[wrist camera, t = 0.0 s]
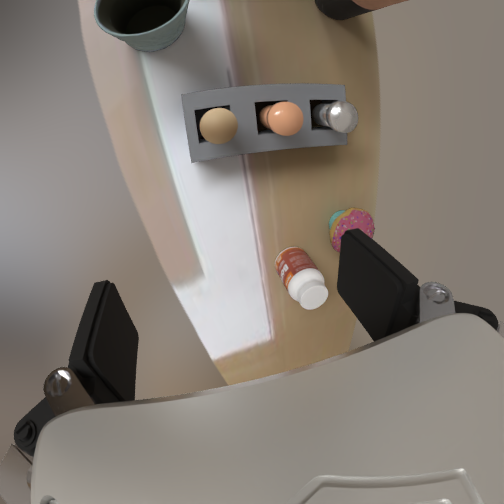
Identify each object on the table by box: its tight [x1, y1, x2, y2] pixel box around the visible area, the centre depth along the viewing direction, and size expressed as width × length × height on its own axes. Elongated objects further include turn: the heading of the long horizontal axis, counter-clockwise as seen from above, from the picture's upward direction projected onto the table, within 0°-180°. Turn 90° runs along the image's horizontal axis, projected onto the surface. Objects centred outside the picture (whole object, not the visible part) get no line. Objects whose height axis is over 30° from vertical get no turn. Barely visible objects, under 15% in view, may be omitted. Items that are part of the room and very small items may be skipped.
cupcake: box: [329, 208, 375, 252], centre depth 43 cm, size 9×8×12 cm
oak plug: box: [200, 108, 238, 144], centre depth 29 cm, size 4×4×6 cm
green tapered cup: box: [94, 0, 189, 52], centre depth 21 cm, size 10×10×12 cm
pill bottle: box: [275, 247, 328, 310], centre depth 45 cm, size 6×6×11 cm
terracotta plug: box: [259, 102, 303, 136], centre depth 30 cm, size 4×4×6 cm
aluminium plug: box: [312, 101, 358, 133], centre depth 31 cm, size 4×4×6 cm
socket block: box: [181, 84, 347, 163], centre depth 34 cm, size 9×22×5 cm, turn 96°
